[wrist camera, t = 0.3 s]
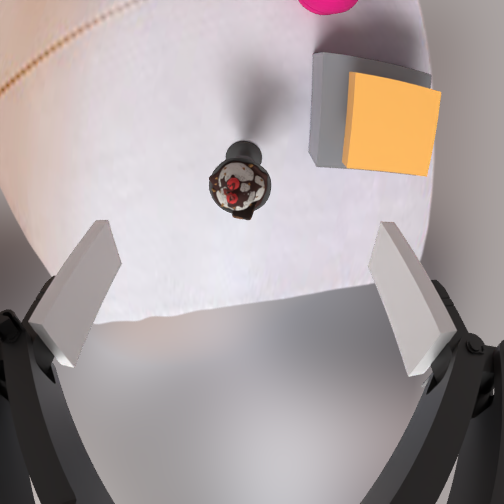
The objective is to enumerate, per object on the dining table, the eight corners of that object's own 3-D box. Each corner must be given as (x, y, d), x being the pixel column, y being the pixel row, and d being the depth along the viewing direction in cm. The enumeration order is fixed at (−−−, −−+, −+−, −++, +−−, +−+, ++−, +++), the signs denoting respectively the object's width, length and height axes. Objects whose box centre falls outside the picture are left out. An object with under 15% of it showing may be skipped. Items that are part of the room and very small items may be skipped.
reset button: (336, 70, 27) (355, 72, 21) (411, 84, 27) (441, 92, 21) (331, 148, 33) (346, 168, 27) (401, 155, 33) (426, 176, 27)
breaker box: (312, 54, 29) (323, 52, 25) (409, 71, 29) (431, 74, 24) (308, 152, 38) (316, 166, 33) (398, 160, 38) (416, 175, 33)
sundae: (230, 127, 36) (216, 163, 24) (275, 147, 38) (285, 194, 26) (211, 168, 40) (191, 223, 28) (255, 186, 41) (254, 247, 29)
